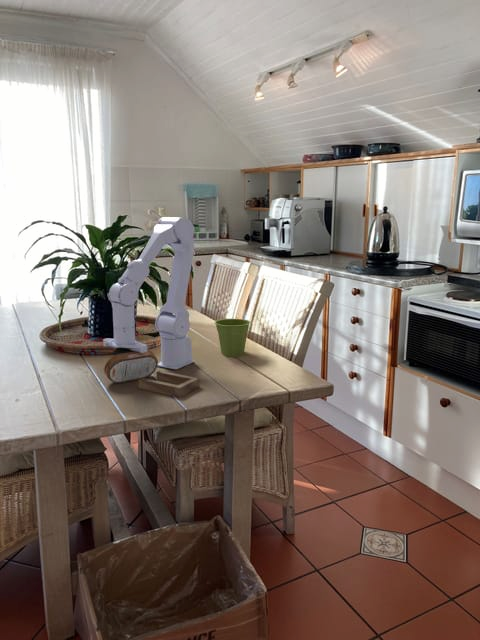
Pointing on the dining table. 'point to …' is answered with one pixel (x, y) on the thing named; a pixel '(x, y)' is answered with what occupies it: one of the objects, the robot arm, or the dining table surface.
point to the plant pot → (232, 336)
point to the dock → (181, 388)
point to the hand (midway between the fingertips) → (125, 373)
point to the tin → (130, 366)
